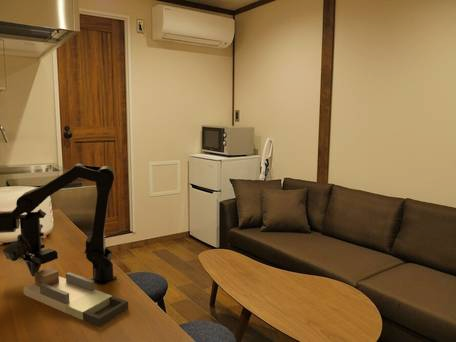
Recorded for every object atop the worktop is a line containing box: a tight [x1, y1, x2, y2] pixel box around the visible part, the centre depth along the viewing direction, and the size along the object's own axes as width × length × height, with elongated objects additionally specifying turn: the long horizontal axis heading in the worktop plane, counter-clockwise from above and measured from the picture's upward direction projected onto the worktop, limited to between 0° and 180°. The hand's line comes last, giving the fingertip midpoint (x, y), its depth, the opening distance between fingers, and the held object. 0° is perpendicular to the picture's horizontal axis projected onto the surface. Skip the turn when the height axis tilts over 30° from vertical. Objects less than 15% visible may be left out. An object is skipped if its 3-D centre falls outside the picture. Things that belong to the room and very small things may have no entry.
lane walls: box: [40, 271, 96, 304], centre depth 120 cm, size 12×10×3 cm
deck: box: [23, 275, 112, 321], centre depth 120 cm, size 28×11×2 cm, turn 60°
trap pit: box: [82, 295, 129, 328], centre depth 112 cm, size 6×11×2 cm, turn 150°
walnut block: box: [34, 267, 60, 287], centre depth 125 cm, size 5×5×4 cm
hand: (34, 275), depth 128 cm, fingers closed
